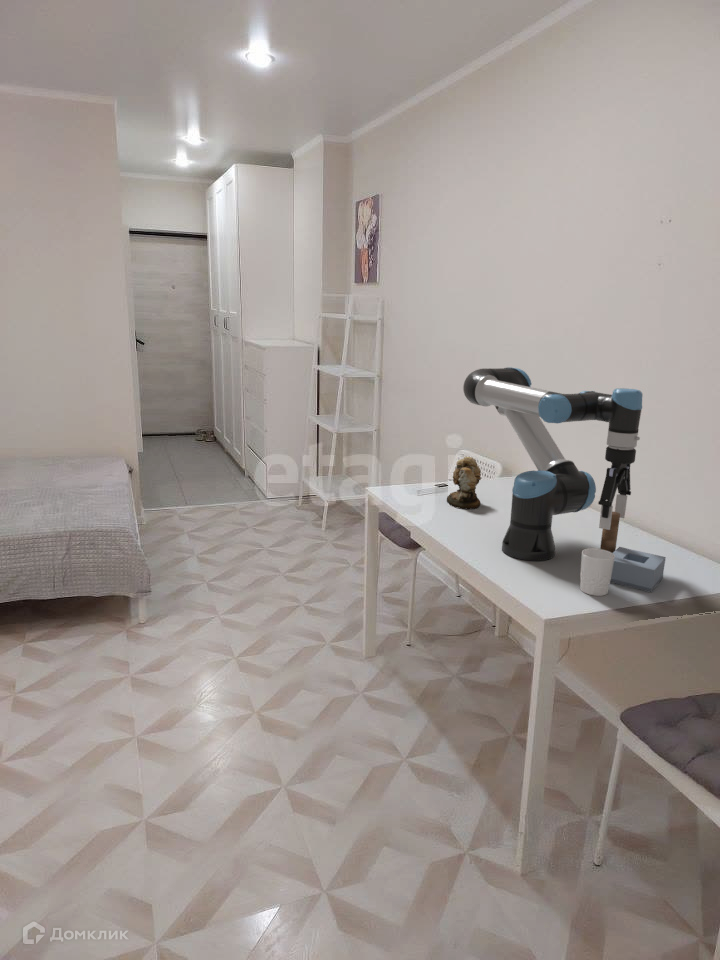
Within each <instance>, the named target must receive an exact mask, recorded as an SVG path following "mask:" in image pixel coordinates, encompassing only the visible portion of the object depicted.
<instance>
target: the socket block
mask: <svg viewBox="0 0 720 960" xmlns="http://www.w3.org/2000/svg"><path fill="white" fill-rule="evenodd" d="M613 554H614V555H615V559H614V565H613V571H612V575H611V580H610V583H612V584H617V585H621V586H625V587H628V588H632V589H636V590H640V591H643V592H644V591H645V592H649V593H652V592H653V591H654V590H655V588H656V587H657V585H659V583H660V582H661V581H662V580H663V578H664V573H665V571H664V570H665V563H666V557H665V556H661V555H658V554H653V553H648V552H645V551H641V550H636V549H630V548H627V547H622V546H619V547H618V548H616V550H615V551H614V552H613Z"/></svg>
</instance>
